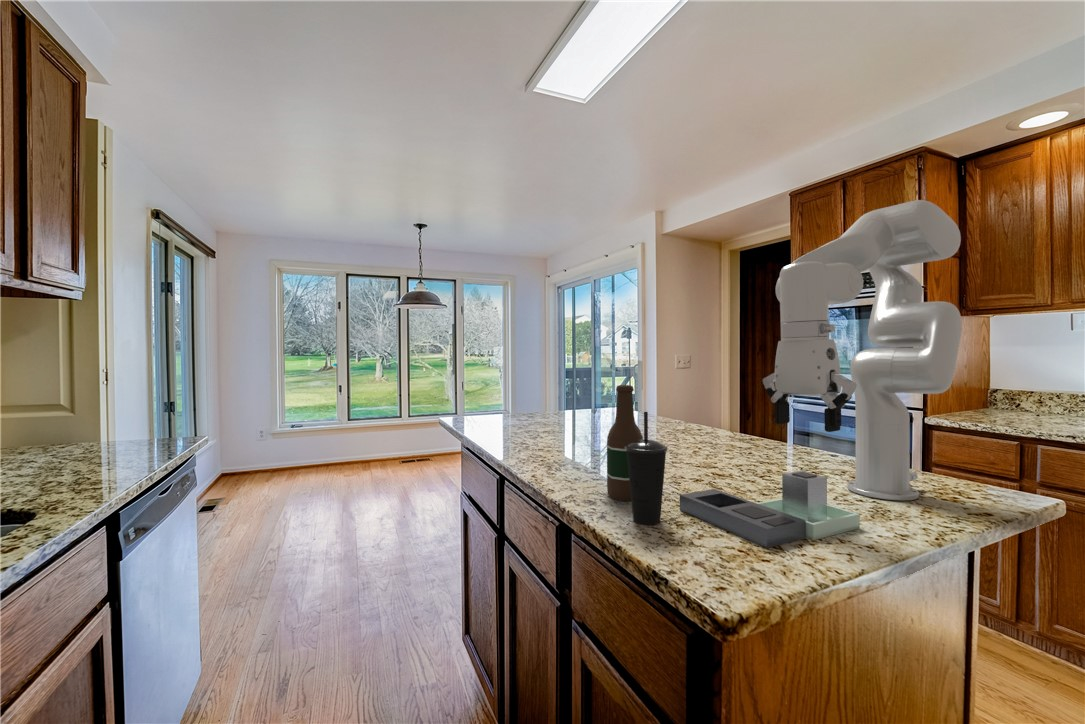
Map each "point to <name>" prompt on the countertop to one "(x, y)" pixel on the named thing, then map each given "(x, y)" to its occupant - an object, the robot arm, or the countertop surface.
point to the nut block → (804, 496)
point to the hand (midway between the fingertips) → (806, 426)
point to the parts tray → (833, 525)
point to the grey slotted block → (744, 517)
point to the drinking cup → (646, 477)
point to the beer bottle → (621, 445)
